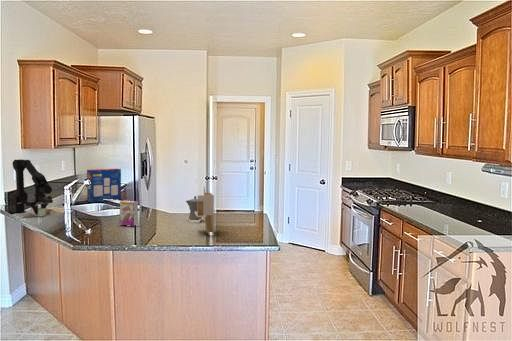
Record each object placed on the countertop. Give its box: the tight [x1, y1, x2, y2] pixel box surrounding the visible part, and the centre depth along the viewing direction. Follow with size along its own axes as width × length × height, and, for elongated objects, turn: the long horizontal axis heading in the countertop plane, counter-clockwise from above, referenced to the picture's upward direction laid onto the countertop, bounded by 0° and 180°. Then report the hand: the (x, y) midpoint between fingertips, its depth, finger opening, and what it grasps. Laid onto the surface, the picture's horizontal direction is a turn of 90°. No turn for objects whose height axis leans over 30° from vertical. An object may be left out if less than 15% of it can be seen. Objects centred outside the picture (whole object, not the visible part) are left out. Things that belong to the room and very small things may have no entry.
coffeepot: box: [185, 195, 202, 220], centre depth 300 cm, size 15×9×18 cm, turn 107°
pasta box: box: [86, 168, 122, 203], centre depth 384 cm, size 28×8×28 cm, turn 135°
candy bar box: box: [119, 200, 139, 226], centre depth 280 cm, size 11×5×16 cm, turn 71°
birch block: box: [45, 206, 65, 216], centre depth 319 cm, size 10×10×4 cm
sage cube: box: [33, 208, 46, 217], centre depth 307 cm, size 5×5×5 cm
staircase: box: [194, 186, 215, 234], centre depth 265 cm, size 10×16×29 cm, turn 16°
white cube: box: [30, 206, 41, 215], centre depth 315 cm, size 5×5×5 cm
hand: (39, 214), depth 307 cm, fingers closed on sage cube, 5 cm apart
